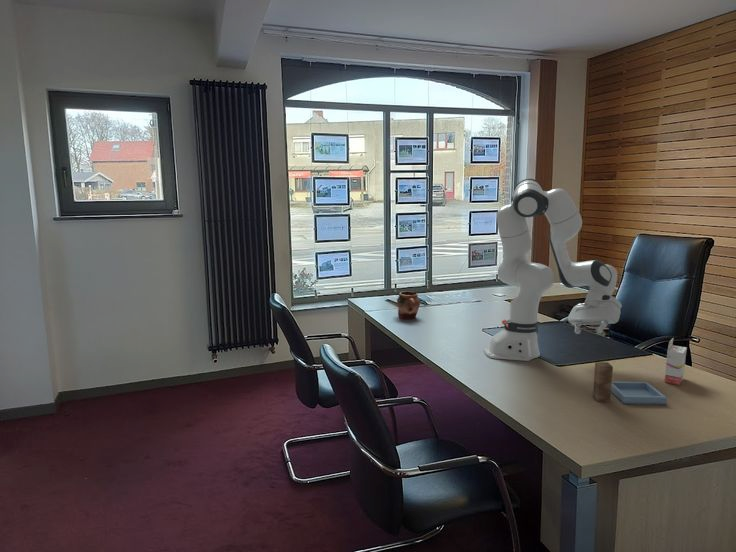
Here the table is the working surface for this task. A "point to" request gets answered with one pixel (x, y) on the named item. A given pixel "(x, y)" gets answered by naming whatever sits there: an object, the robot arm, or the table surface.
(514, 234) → the robot arm
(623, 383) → the slate tray
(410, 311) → the decorative planter
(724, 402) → the table surface
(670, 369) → the ink cartridge box
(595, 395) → the walnut block
